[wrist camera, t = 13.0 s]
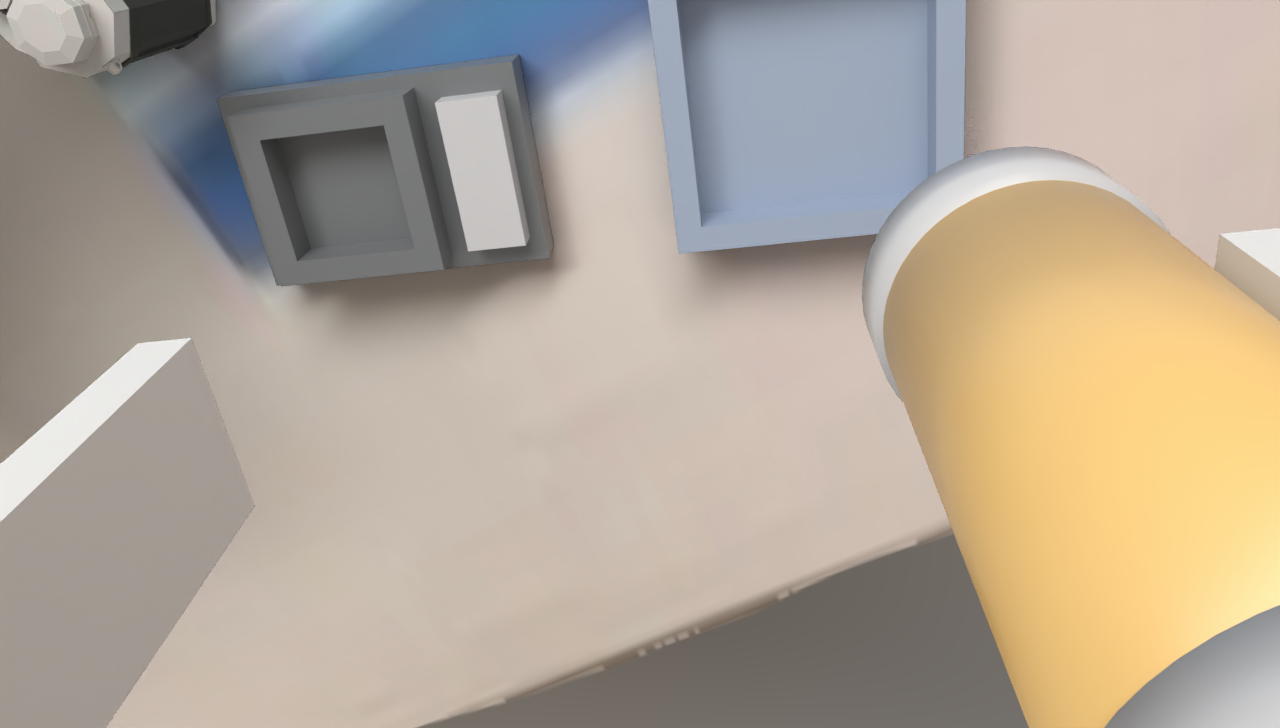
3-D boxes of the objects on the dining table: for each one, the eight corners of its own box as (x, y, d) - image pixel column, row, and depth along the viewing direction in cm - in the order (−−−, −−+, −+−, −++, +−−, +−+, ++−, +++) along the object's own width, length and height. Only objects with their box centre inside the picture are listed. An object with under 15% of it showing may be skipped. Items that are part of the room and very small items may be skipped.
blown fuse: (865, 414, 15) (1104, 1185, 6) (857, 164, 13) (1174, 758, 5) (1132, 390, 15) (1779, 1178, 6) (1160, 129, 13) (2149, 710, 4)
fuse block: (290, 272, 43) (262, 299, 41) (233, 91, 40) (198, 107, 37) (554, 245, 42) (542, 271, 39) (518, 54, 38) (503, 68, 36)
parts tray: (681, 232, 41) (679, 253, 39) (647, -48, 36) (642, -41, 34) (949, 205, 40) (962, 225, 38) (951, -90, 35) (967, -86, 33)
